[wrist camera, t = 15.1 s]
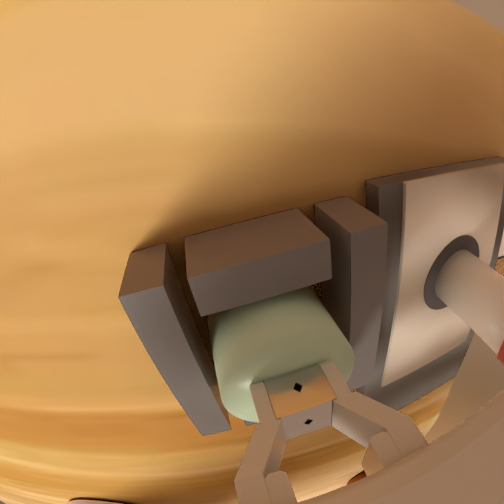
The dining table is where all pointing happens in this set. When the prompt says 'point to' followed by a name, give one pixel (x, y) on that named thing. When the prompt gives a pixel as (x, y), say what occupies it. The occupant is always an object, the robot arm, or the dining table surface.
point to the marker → (474, 296)
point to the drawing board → (429, 270)
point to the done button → (272, 345)
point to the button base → (257, 291)
